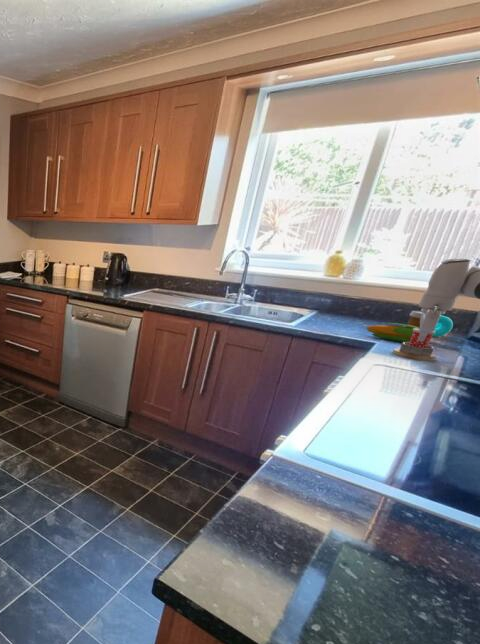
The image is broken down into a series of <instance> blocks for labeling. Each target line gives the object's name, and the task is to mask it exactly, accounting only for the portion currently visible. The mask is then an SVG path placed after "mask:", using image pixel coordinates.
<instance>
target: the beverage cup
mask: <svg viewBox="0 0 480 644" xmlns="http://www.w3.org/2000/svg"><path fill="white" fill-rule="evenodd" d="M420 332H421V330H420V328H413V334H412V337H411V340H410V343H409V345H411V346H415V347H421V348H426V347H427V345H429V343H430V342H431V340H432V338H433V337H432V336H433V334H435V331H433V332H429V333H428V335H427V336H426V338H425V340H424V341H418V337H419V335H420Z"/></svg>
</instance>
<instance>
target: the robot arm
mask: <svg viewBox="0 0 480 644" xmlns="http://www.w3.org/2000/svg"><path fill="white" fill-rule="evenodd" d="M459 296H465V297H468V298H473V299H478V300H480V267H479V266H477V265H475V264H474V263H473V262H472V260H471V259H468V258H449V259H445V260H442V261H440V263H438V264H437V266H436V267H435V268H434V271H433V272H432V274H431V276H430V278H429V280H428V286H427V289H426V290H424V292H423V294H422V296H421V298H420V301H419V304H418V307H420V308H421V310H420V311H422V315H421V319H420V330H421V332H420V335H419V337H418V341H424V340H425V338H426V336H427V335H428V333H429V332H433V331H434V329H435V327H436V325H437V322H438V320H439V318H440V315H445V314H446V312H447V311H452V310H453V308H454V305H455V303H456V301H457V299H458V297H459Z"/></svg>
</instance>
